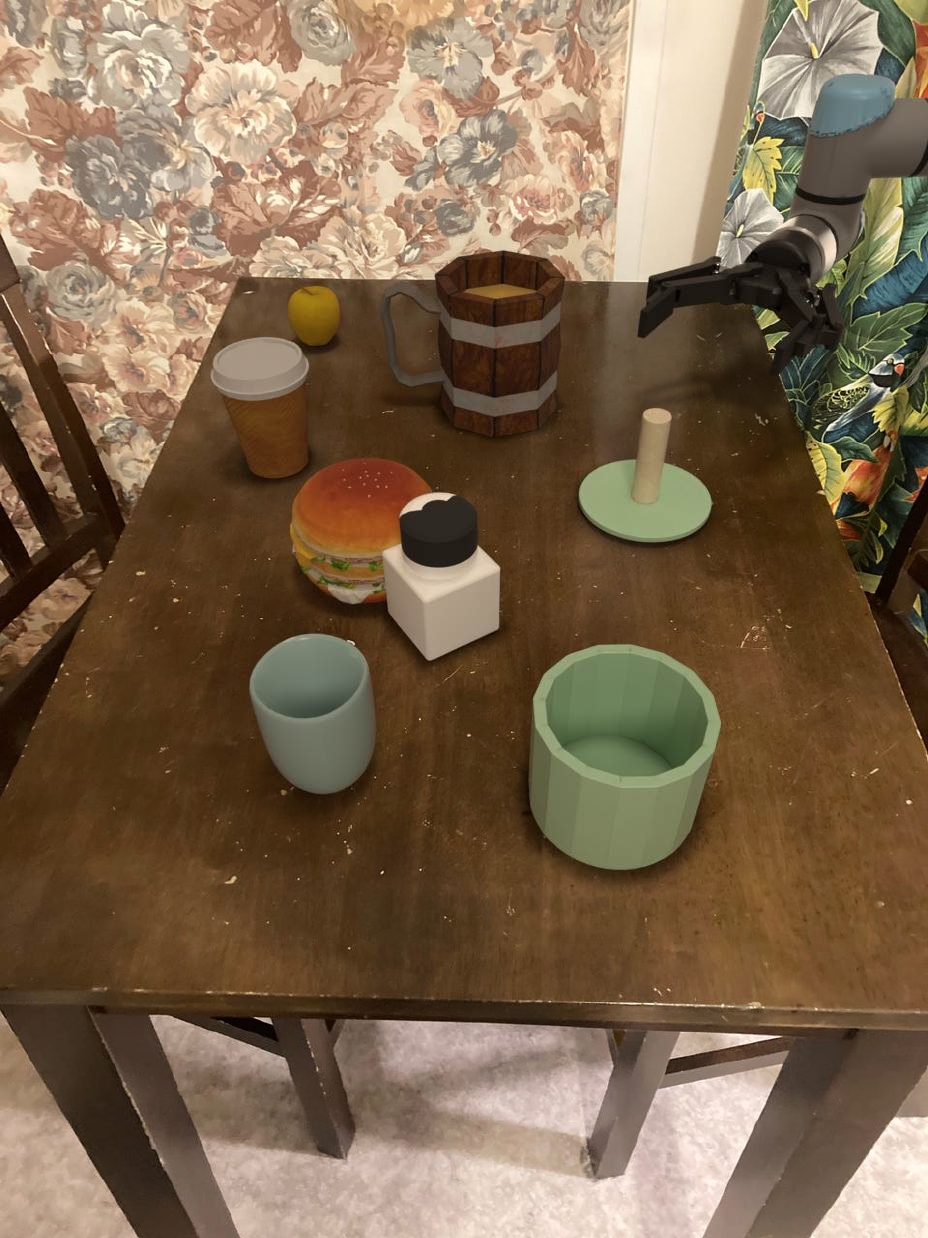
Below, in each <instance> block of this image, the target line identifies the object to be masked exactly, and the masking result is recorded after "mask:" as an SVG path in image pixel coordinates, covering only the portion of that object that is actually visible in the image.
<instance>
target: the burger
mask: <svg viewBox="0 0 928 1238" xmlns="http://www.w3.org/2000/svg"><path fill="white" fill-rule="evenodd" d="M429 493H433V490H432V488H431V487H430V485H429V484H428V483H427V482H426V480H425V479H423V478H422V477H421V476H420V475H419V474H418V473H417V472H416V471H415V470H413V469H412V468H410V467H408V466H407V465H404V464H402V463H400V462H397V461H394V460H391V459H385V458H380V457H360V458H350V459H346V460H343V461H339V462H335V463H332V464H330V465H328V466H326V467H325V468H322V469H321V470H319V471H318V472H316V473H315V474H314V475H312V476H311V477H310V478H308V479H307V480H306V481H305V483H304V484H303V486H302V487H301V489H300V490H299V491H298V493H297V494H296V496H294V497H295V498H294V500H293V504H292V508H291V522H290V524H289V528H290V529H289V532H290V539H291V541H292V543H293V545H292V552H291V553H292V554H293V555H294V557H295V559H296V560H297V564H298V566H299V568H300V570H301V572H302V573H303V574H305V575H306V576H307V578H308V579H309V580H310V581H311V583H313V584H314V585H315V586H316V587H317V588H318V589H319V590H321V591H322V592H323V593H325V594H326V595H327V596H329V597H332V598H334V599H337V600H339V602H343V603H347V604H351V605H354V604H372V603H373V604H374V603H375V604H376V603H381V602H385V601H386V602H387V595H386V586H385V577H384V568H383V559H382V553H383V551H384V550H386V549H389V548H391V547H394V546H396V545H399V544H401V534H400V523H399V517H400V513H401V511H402V510H403V508H404V507H405V506H406V505H407V504H408V503H409V502H410V501H412V500H413V499H415V498H417V497H419V496H422V495H425V494H429Z"/></svg>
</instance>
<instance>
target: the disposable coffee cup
mask: <svg viewBox="0 0 928 1238" xmlns="http://www.w3.org/2000/svg"><path fill="white" fill-rule="evenodd" d="M213 357H214V358H213V360H212V368H211V371H210V379H211V382H212V384H213V386H215V388H216V389H217V390H218V391H219V393H220V396H221V399H222V400H223V403H224V405H225V408H226V411H227V413H228V416H229V419H230V421H231V424H232V427H233V430H234V432H235V434H236V436H237V440H238V442H239V444H240V446H241V450H242V452H243V455H244V458H245V460H246V462H247V465H248V468H249V470H250V472H252V473H253V474H254V475H256V476H258V477H260V478H265V479H282V478H287V477H290V476H293V475H296V474H297V473H299V472H301V471H302V470H303V469H305V467H306V466H307V465H308V463H309V439H308V437H309V435H308V408H307V407H308V404H307V378H308V374H309V370H310V363H309V361H308V358H307V357H305V355H304V353H303V350H302V349H301V347H300V346H299V345H298V344H297V343H295V342H293V341H290V340H287V339H285V338H280V337H270V336H261V337H259V336H258V337H251V338H247V339H243V340H239V341H236V342H233V343H231V344H229V345H227V346H225V347H224V348H222V349H220V350H219V351H218V352H217V353H216V354H215V356H213Z"/></svg>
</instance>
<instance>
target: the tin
mask: <svg viewBox="0 0 928 1238" xmlns="http://www.w3.org/2000/svg"><path fill="white" fill-rule="evenodd" d="M530 725H531V727H530V729H531V730H530V743H529V745H530V746H529V760H528V761H529V763H528V779H527V780H528V799H529V806H530V809H531V813H532V816H533V818H534V820H535V822H536V824H537V826H538V828H539V829H540V830H541V832H542V833H543V835H544V836H545V837H546V838H547V839H548V841H549V842H551V843H552V844H553V845H554V846H555V847H556V848H557V849H558V850H560V851H561V852H563V853H564V854H565V855H566V856H569V857H571V858H572V859H574V860H576V861H578V862H581V863H583V864H586V865H589V866H592V867H595V868H601V869H606V870H618V871H625V870H627V871H628V870H636V869H640V868H641V869H642V868H645V867H649V866H651V865H654V864H656V863H658V862H660V861H662V860H664V859H666V858H667V857H669V856H670V855H672V854H673V853H674V852H675V851H676V850H678V848H680V846H681V845H682V844H683V843H684V841H685V840H686V838H687V836H688V835H689V834H690V833H691V830H692V828H693V824H694V821H695V818H696V815H697V811H698V808H699V804H700V801H701V798H702V794H703V791H704V789H705V788H704V787H705V785H706V782H707V778H708V775H709V771H710V768H711V765H712V762H713V758H714V755H715V752H716V747H717V744H718V740H719V735H720V732H721V728H722V721H721V717H720V713H719V710H718V706H717V703H716V699H715V695H714V694H713V692H712V691H711V690H710V689H709V688H708V687H707V686H706V684H705V683H704V682H703V681H702V680H701V678H700V677H699V676H698V675H697V673H696V672H695V671H694V670H693V669H691V668H689V667H688V666H686V665H684V664H683V663H682V662H679V661H678V660H676V659H675V658H673V657H671V656H670V655H668V654H666V653H664V652H661V651H658V650H654V649H651V648H646V647H642V646H639V645H636V644H631V643H627V644H626V643H624V644H620V643H619V644H595V645H593V646H590V647H587V648H584V649H581V650H578V651H575V652H572V653H568V654H567V655H565V656H564V657H562V658H561V659H560V660H559V661H558V662H557V663H555V664H554V665H553V666H552V667H550V668H549V669H548V670H547V671H545V673H544V674H543V675H542V678H541V679H540V682H539V684H538V686H537V688H536V690H535V693H534V695H533V697H532V708H531V724H530Z"/></svg>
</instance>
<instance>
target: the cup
mask: <svg viewBox="0 0 928 1238" xmlns="http://www.w3.org/2000/svg"><path fill="white" fill-rule="evenodd" d="M248 691H249V697H250V701H251V702H250V703H251V705H252V710H253V713H254V716H255V719H256V722H257V725H258V728H259V732H260V734H261V735H260V736H261V738H262V740H263V744H264V746H265V749H266V751H267V753H268V756H269V758H270V760H271V761H272V763H273V765H274V766H275V768H276V769H277V771H278V772H279V774H280V775H281V776H282V777H283V778H284V779H285V780H287V781H288V783H290V784H291V785H293V786H294V787H296V788H298V789H300V790H303V791H305V792H308V793H311V794H315V795H332V794H336V793H339V792H342V791H344V790H346V789H348V788H349V787H351V786H352V785H353V784H354V783H356V782H357V781H358V780H359V779H360V778H361V776H363V774H364V773H365V771H366V770H367V769H368V767H369V765H370V763H371V760H372V758H373V755H374V752H375V748H376V741H377V715H376V704H375V696H374V688H373V681H372V675H371V671H370V666H369V664H368V661H367V659H366V657H365V655H364V654H363V653H362V652H361V650H360V649H359V648H357V647H356V646H354V645H353V644H352V643H350V642H349V641H346V640H344V639H343V638H341V637H337V636H333V635H330V634H324V633H306V634H300V635H296V636H292V637H289V638H287V639H285V640H283V641H281V642H279V643H278V644H276V645H275V646H273V647H271V649H269V650H268V651H267V652H265V654H263V656H262V657H261V658H260V659H259V661H258V662H257V663H256V665H255V667H254V668H253V670H252V672H251V675H250V678H249V689H248Z"/></svg>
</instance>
